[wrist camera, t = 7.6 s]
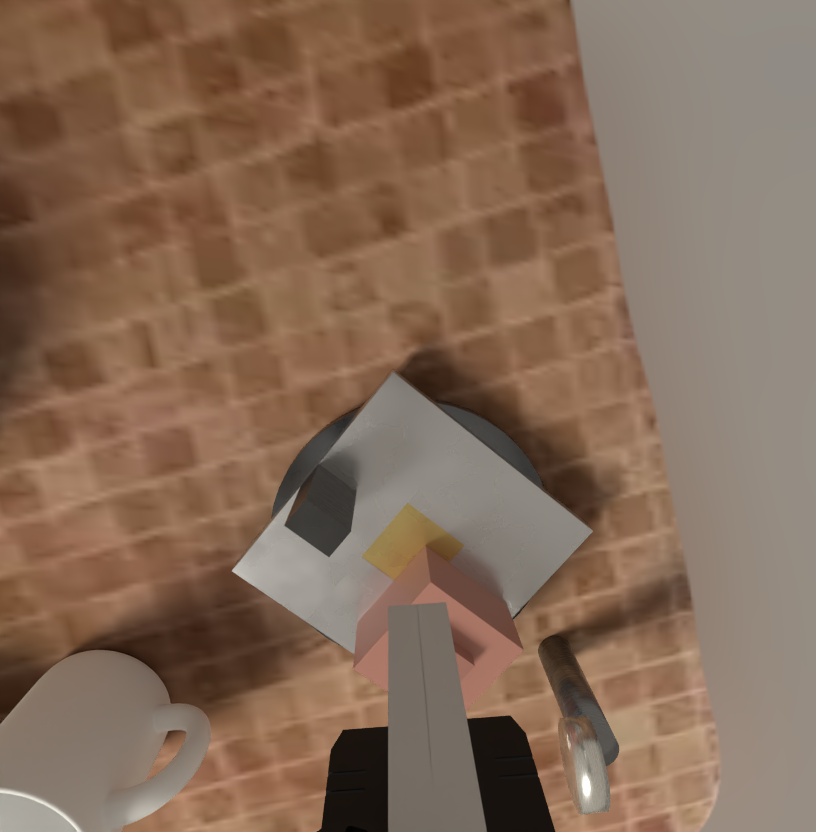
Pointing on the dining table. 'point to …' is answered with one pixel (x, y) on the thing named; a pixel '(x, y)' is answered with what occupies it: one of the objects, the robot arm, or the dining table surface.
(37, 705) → the mug
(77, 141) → the dining table surface
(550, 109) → the dining table surface
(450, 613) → the cover
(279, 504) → the turntable base
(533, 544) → the turntable
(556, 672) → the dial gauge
